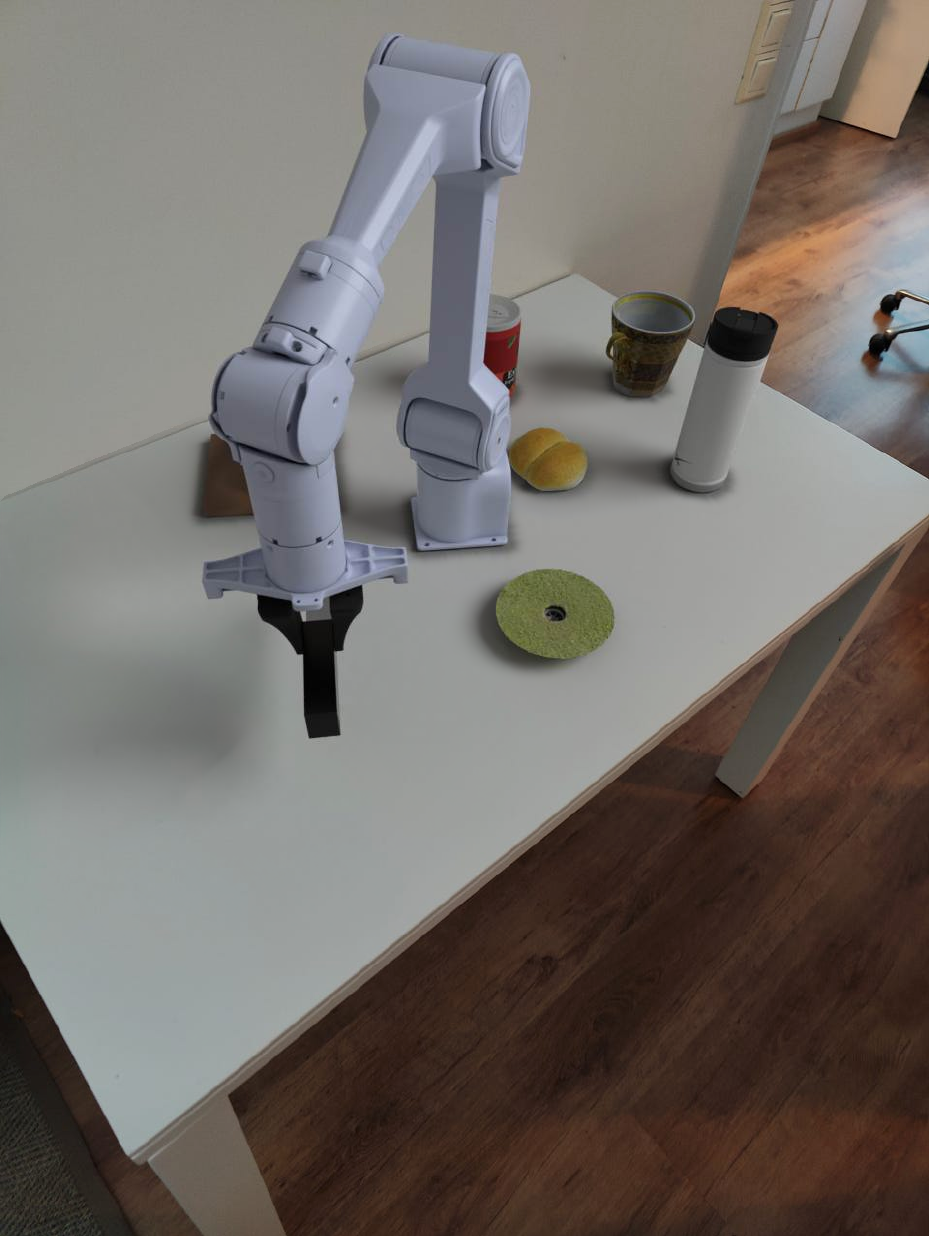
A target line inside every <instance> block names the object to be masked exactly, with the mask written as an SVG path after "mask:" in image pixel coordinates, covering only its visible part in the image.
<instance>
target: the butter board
mask: <svg viewBox="0 0 929 1236" xmlns="http://www.w3.org/2000/svg"><path fill="white" fill-rule="evenodd" d="M208 448H209V449H208V455H207V456H208V458H207V465H206V473H205V474H206V475H205V484H204V493H203V502H202V503H203V504H202V513H203V516H204V518H217V517H230V516H232V517H233V516H247V515H254V514H253V509H252V505H251V500H250V496H249V491H248V487H247V482H246V478H245V473H244V469H243V466H242V465H240V463H239V462H237V461H235V460H233V456H232V452H231V448H230V446H229V444H228V443H227V442H226V441H225V440H222V439H221V438H219V437H218V436H217V435H216V434H215V433H210V439H209V446H208ZM333 451H334V460H335V461H336V455H335V453H336V452H335V451H336V450H335V449H334V450H333Z"/></svg>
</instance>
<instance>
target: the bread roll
mask: <svg viewBox="0 0 929 1236" xmlns="http://www.w3.org/2000/svg"><path fill="white" fill-rule="evenodd" d="M508 459H509V465H510V467H511V468H512V470H513V471H514V472H515V473H516V474H517V476H519V477H520V478H522V479H523V480H525V481H526V482H527V483H528V484H529V485H530V486H531V487H533V488H535V489H537V490H538V491H543V492H556V491H557V492H558V491H565V490H566V491H567V490H572V489H573V488H575V487H577V486H578V485H579V484H580V483H582V481H583V480H584V477H585V476H586V472H587V469H588V465H589V464H588V457H587V454H586V452H585V450H584V448H583V447H582V446H581V445H580V444H578V443H576V442H574V441H570V440H569V439H568V438H567V437H566V436H565V435H564V434H563V433H562V432H560V431H558V430H556V429H555V428H552V427H536V428H534V429H531V430H529V431H527V432H526V433H524V434H522V435H520V437H517V438H516V439H515V440H514V441H513V442H512V443H511V444H510V446H509V452H508Z"/></svg>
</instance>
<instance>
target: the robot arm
mask: <svg viewBox="0 0 929 1236" xmlns="http://www.w3.org/2000/svg"><path fill="white" fill-rule="evenodd" d="M362 94H363V95H362V96H363V97H362V99H363V103H362V104H363V117H364V124H365V130H366V133H365V136H364V138H363V141H362V144H361V145H360V149H359V152H358V154H357V157H356V160H355V162H354V164H353V167H352V170H351V172H350V175H349V177H348V181H347V183H346V186H345V188H344V191H343V194H342V196H341V199H340V201H339V204H338V206H337V209H336V212H335V214H334V217H333V220H332V222H331V225H330V228H329V230H328V233H327V236H325V237H321V238H317V239H313V240H310V241H306V242H305V243H304V244H302V245H301V246H300V248H299V249H298V251H297V253H296V256H295V258H294V259H293V261H292V264H291V265H290V268H289V270H288V272H287V274H286V276H285V278H284V280H283V282H282V283H281V286H280V288H279V289H278V291H277V294H276V296H275V298H274V300H273V301H272V304H271V306H270V308H269V310H268V312H267V314H266V315H265V318H264V320H263V322H262V324H261V326H260V328H259V330H258V332H257V334H256V336H255V338H254V340H253V341H252V345H251V346H248V347H244V348H243V349H241V351H236V352H233V353H231V354H230V355H229V356H228V357H226V358H225V359H224V361H223V362H222V363H221V365H220V366H219V368H218V369H217V371H216V374H215V375H214V376H215V377H214V380H213V383H212V387H211V395H210V402H211V403H210V405H211V411H210V413H209V415H208V422H209V425H210V427H211V429H212V431H213V432H214V434H216V435H217V436H218V437H219V438H221V439H222V440H225V441H226V442H227V443H228V444H229V446H230V448H231V452H232V456H233V460H235V461H237V462H239V463H240V465H242V466H243V469H244V473H245V478H246V482H247V487H248V491H249V496H250V500H251V505H252V509H253V514H252V515H253V517H254V522H255V527H256V530H257V531H256V532H257V535H258V540H259V544H260V547H258V548H255V549H252V550H249V551H246V552H243V553H240V554H236V555H233V556H231V557H226V558H223V559H217V560H211V561H210V560H209V561H204V562H203V568H202V569H203V570H202V579H201V582H202V585H203V588H204V591H205V594H206V598H207V599H208V600H217V599H222V598H223V597H224V592H233V591H234V592H235V591H238V592H243V593H249V594H254V595H256V601H257V608H256V609H257V613H258V616H259V617H260V619H261V621H262V622H264V623H266V624H269V625H270V626H272V627H273V628H275V629H277V630H278V631H279V632H280V634H282V635H283V636H284V637H285V638H286V640H287V641H288V642H289V643H290V645H291V647H292V648H293V650H294V652H295V654H296V655H297V656H300V655H302V656H303V635H302V622H303V621H304V620H303V616H302V614H301V612H306V611H312V610H318V609H320V608H322V606H323V599H324V598H326V597H329V604H330V614H331V618H332V623H333V633H334V646H335V651H337V652H343V651H344V650H345V646H344V645H345V641H346V637H347V633H348V631H349V629H350V627H351V625H352V623H353V621H354V620H355V619H356V618H357V617H358V616H359V615H360V614H361V612H362V610H363V607H364V590H363V588H364V587H363V585H365V584H368V583H371V582H374V581H377V580H386V579H392V580H393V584H396V585H402V584H403V585H404V584H409V563H408V556H407V555H408V554H407V547H406V546H384V545H383V546H382V545H377V544H371V543H366V542H359V541H353V540H348V539H344V531H343V529H344V528H343V523H342V513H341V503H340V495H339V487H338V485H339V484H338V478H337V469H336V459H335V460H334V451H333V450H335V448H336V446H337V445H338V442H339V441H340V439H341V438H342V436H343V432H344V430H345V426H346V424H347V418H348V413H349V405H350V404H349V402H350V399H351V398H350V397H351V395H352V391H353V389H354V383H355V381H356V380H355V377H354V375H353V374H352V372H351V370H352V369H353V366H354V363H355V361H356V359H357V358H358V356H359V354H360V352H361V349H362V347H363V345H364V342H365V340H366V338H367V336H368V335H369V332H370V330H371V328H372V325H373V323H374V322H375V319H376V317H377V315H378V313H379V310H380V308H381V306H382V304H383V301H385V297H386V289H385V285H384V282H383V278H382V277H381V274H380V272H379V267H380V266H381V265H382V262H383V261H384V259H385V257H386V256H387V254H388V252H389V250H390V249H391V247H392V246H393V244H394V242H395V240H396V239H397V237H398V235H399V233H400V232H401V230H402V229H403V227H404V225H405V224H406V222H407V220H408V218H409V217H410V215H411V213H412V212H413V210H414V208H415V207H416V205H417V203H418V201H419V200H420V198H421V197H422V194H424V191H425V189H426V188H427V187H428V184H429V182H430V181H431V179H433V180H434V183H435V200H434V219H433V221H434V222H433V246H432V266H431V268H432V269H431V290H430V291H431V292H430V309H429V310H430V311H429V337H428V355H427V356H428V359H427V361H426V362H424V363H422V364H421V365H419V366H417V367H416V368H415V369H414V370H413V371H412V372H411V373H410V374H409V375H408V377H407V378H406V380H405V381H404V383H403V386H402V393H401V401H400V405H399V408H398V411H397V416H396V423H395V424H396V425H395V427H396V428H395V429H396V434H397V435H396V436H397V437H398V441H399V444H400V445H401V446H402V447H404V448H406V449H409V459H411V460H413V461H414V462H416V483H417V484H416V494H417V495H416V496H413V497H411V498H410V505H411V511H412V512H411V513H412V520H413V527H414V534H415V535H414V536H415V542H416V548H417V550H418V551H421V552H422V551H436V550H451V549H452V550H453V549H465V548H477V547H478V548H479V547H492V546H493V547H494V546H504V545H507V544H508V541H509V538H508V529H509V528H508V526H509V517H510V506H511V498H512V497H511V496H512V495H511V494H512V476H511V475H512V474H511V464H510V462H509V454H508V452H507V450H506V449H507V446H508V442H509V439H510V435H511V429H512V419H511V418H512V417H511V415H510V401H511V397H510V398H509V390H508V388H507V387H506V386H505V385H504V384H503V383H502V382H501V381H500V380H499V379H498V378H497V377H496V376H495V375H494V374H493V373H492V372H491V371H490V370H489V369H488V368H487V367H486V366H485V365H484V363H483V359H484V349H485V338H486V327H487V317H488V306H489V295H490V294H491V285H492V284H491V283H492V274H493V273H492V272H493V263H494V262H493V261H494V251H495V242H496V230H497V219H498V209H499V198H500V192H501V191H500V190H501V185H502V179H503V178H505V177H506V178H507V177H511V176H517V175H519V174H520V173H521V168H522V162H523V159H524V156H525V148H526V140H527V131H528V130H527V129H528V122H529V111H530V102H531V83H530V80H529V78H528V75H527V72H526V69H525V67H524V64H523V61H522V59H521V58H520V56H519V55H518V54H517V53H514V52H504V53H501V52H500V53H499V52H493V51H488V50H482V49H476V48H471V47H465V46H459V45H454V44H449V43H442V42H437V41H432V40H431V41H430V40H425V39H419V38H413V37H407V36H406V35H405V34H403V33H399V32H395V31H394V32H389V33H386V34H385V35H384V36H383V37H382V38H381V40H380V41H379V42H378V43H377V46H376V47H375V48H374V50H373V52H372V54H371V56H370V59H369V61H368V65H367V70H366V74H365V75H364V80H363V93H362Z"/></svg>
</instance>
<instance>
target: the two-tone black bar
mask: <svg viewBox="0 0 929 1236" xmlns="http://www.w3.org/2000/svg"><path fill="white" fill-rule="evenodd" d="M302 635H303V655H302V686H303V687H302V688H303V689H302V691H303V692H302V693H303V696H302V697H303V718H304V723H305V727H306V732H307V737H308V739H309V740H310V739H320V738H330V737H340V736H341V735H342V734H341V731H342V730H341V711H340V693H339V671H338V670H339V669H338V655H337V654H338V653H337V652H338V651H335V646H334V633H333V623H332V618H331V614H330V604H329V597H326V598H324V599H323V606H322V608H320V609H318V610H312V611H305V620H303V622H302Z"/></svg>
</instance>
